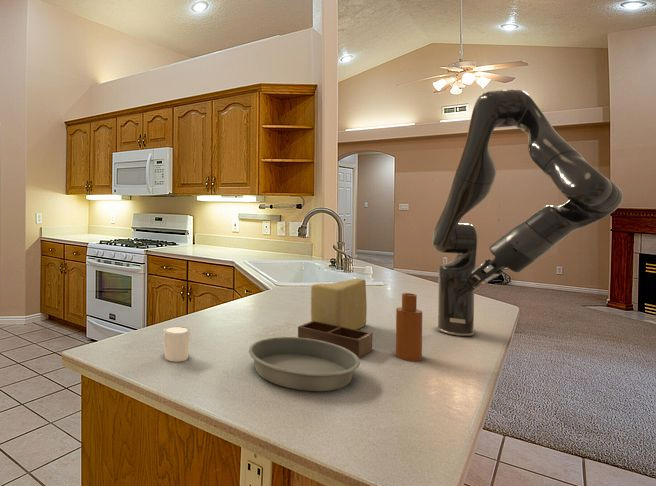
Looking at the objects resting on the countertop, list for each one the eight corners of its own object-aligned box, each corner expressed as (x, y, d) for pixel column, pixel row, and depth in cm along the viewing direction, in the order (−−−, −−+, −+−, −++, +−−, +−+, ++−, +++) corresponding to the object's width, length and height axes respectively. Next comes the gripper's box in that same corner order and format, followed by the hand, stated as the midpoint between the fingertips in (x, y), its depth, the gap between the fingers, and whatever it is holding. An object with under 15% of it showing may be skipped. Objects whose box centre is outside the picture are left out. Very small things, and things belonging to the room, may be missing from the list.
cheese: (350, 321, 148) (350, 276, 148) (378, 328, 140) (379, 280, 140) (309, 332, 134) (309, 283, 134) (338, 341, 127) (339, 288, 127)
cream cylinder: (194, 355, 114) (194, 327, 114) (183, 364, 108) (183, 335, 108) (170, 351, 117) (170, 324, 117) (158, 359, 111) (158, 331, 111)
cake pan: (299, 404, 87) (299, 381, 87) (228, 363, 109) (228, 344, 109) (384, 382, 98) (384, 361, 98) (304, 348, 120) (304, 331, 120)
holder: (313, 336, 131) (313, 320, 131) (372, 350, 119) (372, 333, 119) (297, 343, 125) (297, 326, 125) (358, 358, 113) (358, 340, 113)
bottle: (400, 351, 119) (401, 291, 119) (424, 357, 115) (425, 294, 115) (392, 356, 114) (393, 294, 114) (417, 362, 110) (418, 297, 110)
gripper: (511, 232, 106) (456, 275, 114) (500, 235, 95) (439, 282, 103) (540, 257, 102) (480, 300, 110) (531, 262, 92) (466, 309, 100)
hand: (460, 291), depth 107 cm, fingers open, 8 cm apart
